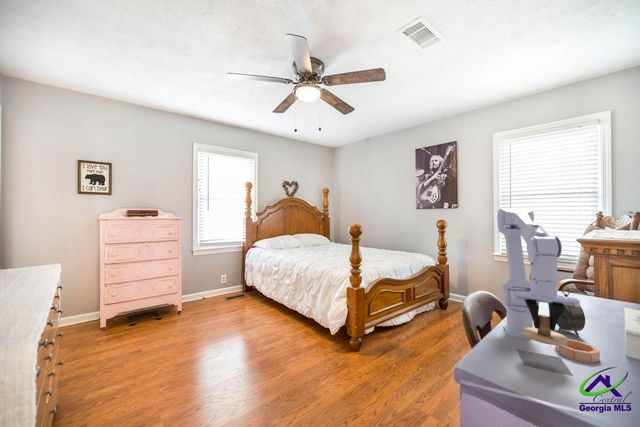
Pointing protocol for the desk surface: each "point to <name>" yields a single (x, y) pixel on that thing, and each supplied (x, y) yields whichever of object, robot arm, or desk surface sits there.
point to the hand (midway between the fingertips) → (543, 328)
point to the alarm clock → (571, 318)
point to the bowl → (579, 351)
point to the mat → (544, 362)
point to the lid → (545, 333)
